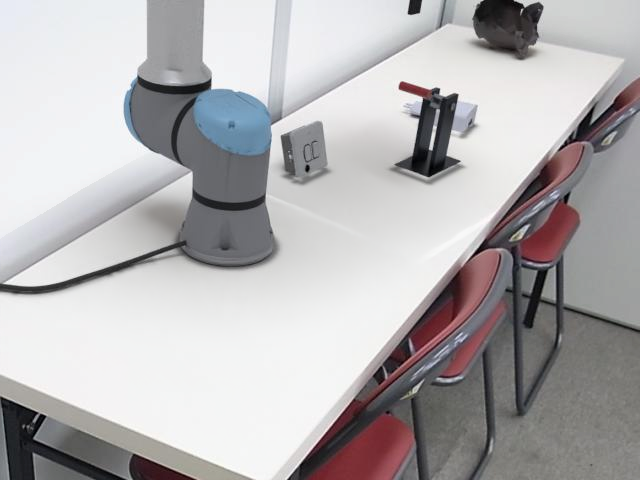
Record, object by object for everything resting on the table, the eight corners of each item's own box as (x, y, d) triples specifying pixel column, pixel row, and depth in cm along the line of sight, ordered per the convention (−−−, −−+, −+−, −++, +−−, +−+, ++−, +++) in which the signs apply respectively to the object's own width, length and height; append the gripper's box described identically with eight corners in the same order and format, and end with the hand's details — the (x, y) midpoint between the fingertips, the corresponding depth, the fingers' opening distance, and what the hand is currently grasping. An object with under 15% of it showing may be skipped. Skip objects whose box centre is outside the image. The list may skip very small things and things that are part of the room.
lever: (424, 100, 161) (430, 86, 160) (396, 91, 164) (401, 77, 163) (453, 114, 171) (458, 102, 171) (426, 106, 174) (431, 93, 174)
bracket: (428, 182, 174) (443, 105, 165) (393, 169, 178) (406, 94, 169) (460, 166, 181) (476, 92, 172) (426, 154, 185) (439, 80, 176)
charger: (409, 110, 205) (473, 124, 201) (395, 122, 199) (462, 137, 194) (413, 88, 203) (478, 103, 198) (399, 100, 196) (467, 115, 191)
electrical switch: (299, 184, 169) (300, 134, 164) (277, 178, 172) (277, 129, 167) (328, 170, 175) (330, 122, 170) (306, 165, 178) (307, 117, 173)
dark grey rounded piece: (544, 48, 250) (476, 36, 259) (554, -8, 240) (483, -19, 249) (524, 64, 241) (455, 51, 250) (533, 6, 232) (461, -5, 241)
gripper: (477, -118, 149) (451, 18, 162) (363, -140, 163) (347, -13, 176) (449, -115, 145) (425, 24, 158) (334, -139, 159) (321, -9, 172)
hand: (384, 5), depth 167 cm, fingers open, 13 cm apart
